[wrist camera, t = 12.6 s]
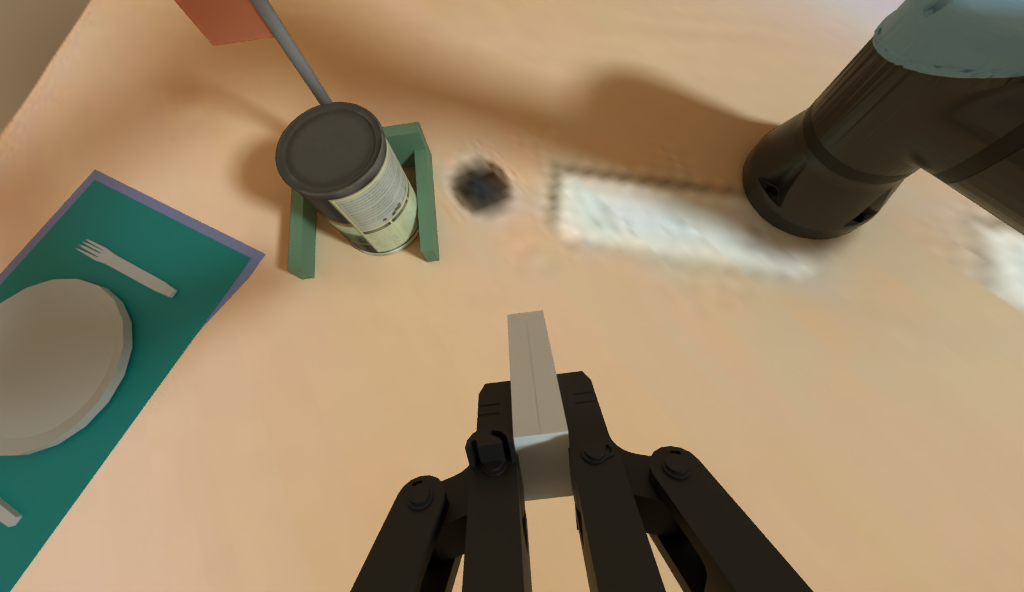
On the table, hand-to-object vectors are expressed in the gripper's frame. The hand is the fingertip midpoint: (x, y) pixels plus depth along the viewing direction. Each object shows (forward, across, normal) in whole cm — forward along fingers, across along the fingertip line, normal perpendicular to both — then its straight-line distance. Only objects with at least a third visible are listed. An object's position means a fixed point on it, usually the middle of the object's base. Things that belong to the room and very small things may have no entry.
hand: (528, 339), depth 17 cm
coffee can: (+35, -16, -3) cm, 39 cm away
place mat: (+26, -56, -13) cm, 63 cm away
